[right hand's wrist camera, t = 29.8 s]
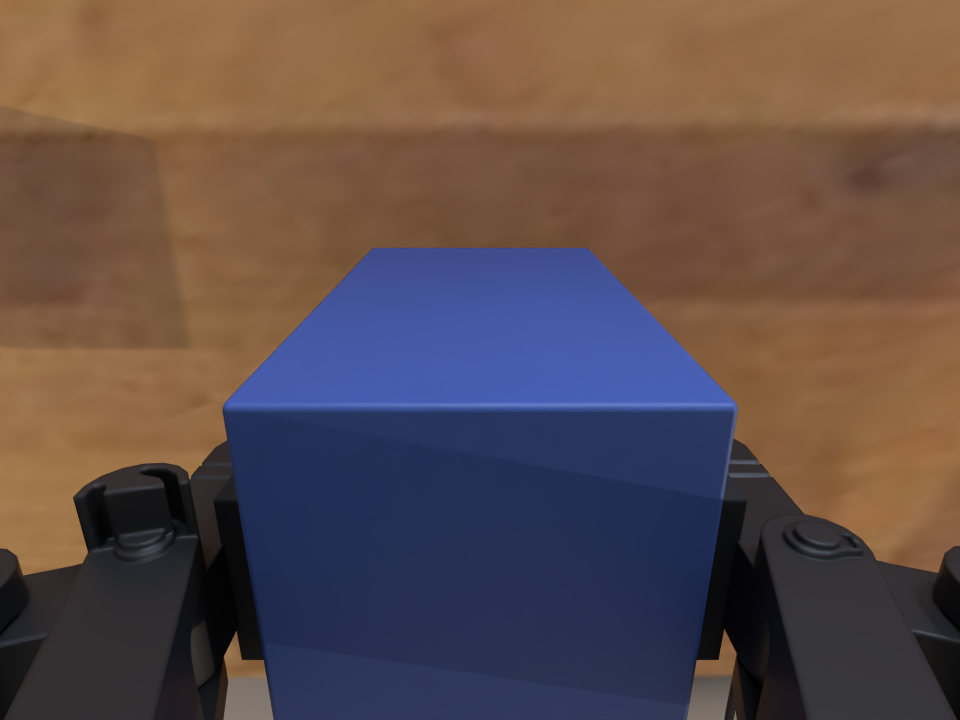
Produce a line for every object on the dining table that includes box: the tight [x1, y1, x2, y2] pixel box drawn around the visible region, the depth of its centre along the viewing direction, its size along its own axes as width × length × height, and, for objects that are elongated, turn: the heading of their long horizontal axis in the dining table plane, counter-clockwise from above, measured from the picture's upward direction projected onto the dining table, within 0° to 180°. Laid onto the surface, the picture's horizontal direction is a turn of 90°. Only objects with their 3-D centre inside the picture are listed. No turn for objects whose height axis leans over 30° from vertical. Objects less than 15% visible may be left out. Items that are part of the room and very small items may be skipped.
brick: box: [223, 248, 738, 720], centre depth 12 cm, size 5×6×9 cm
